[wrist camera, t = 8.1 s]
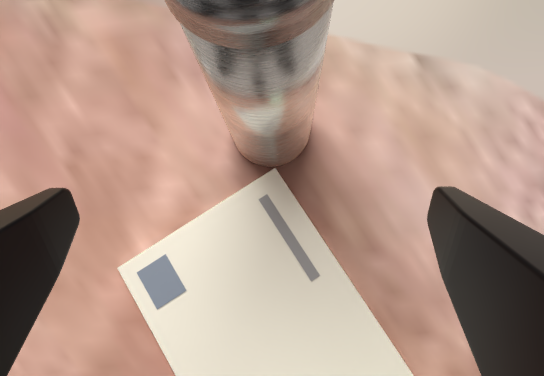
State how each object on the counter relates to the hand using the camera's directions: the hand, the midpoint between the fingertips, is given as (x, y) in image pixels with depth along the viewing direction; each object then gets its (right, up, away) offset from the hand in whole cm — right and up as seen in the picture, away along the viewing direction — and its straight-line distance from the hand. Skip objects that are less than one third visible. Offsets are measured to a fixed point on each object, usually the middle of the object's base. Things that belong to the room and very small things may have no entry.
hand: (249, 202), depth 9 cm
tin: (+1, +3, +10) cm, 11 cm away
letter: (0, -6, +8) cm, 10 cm away
